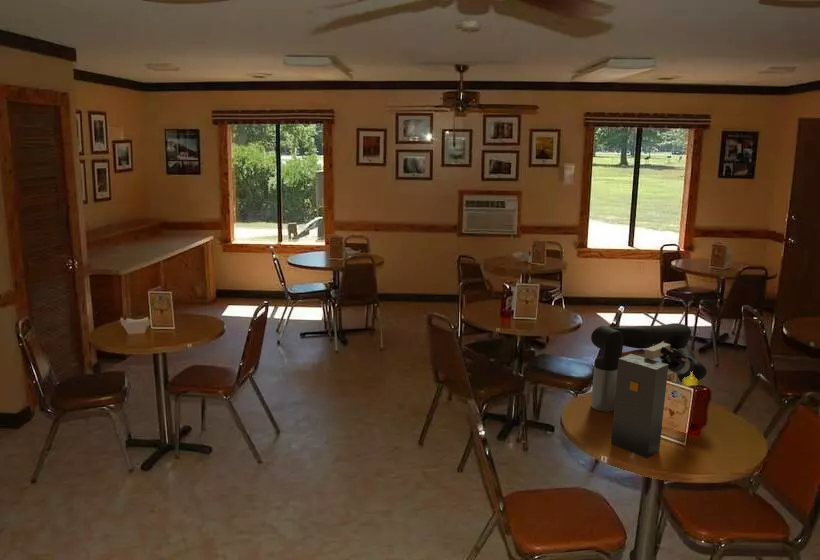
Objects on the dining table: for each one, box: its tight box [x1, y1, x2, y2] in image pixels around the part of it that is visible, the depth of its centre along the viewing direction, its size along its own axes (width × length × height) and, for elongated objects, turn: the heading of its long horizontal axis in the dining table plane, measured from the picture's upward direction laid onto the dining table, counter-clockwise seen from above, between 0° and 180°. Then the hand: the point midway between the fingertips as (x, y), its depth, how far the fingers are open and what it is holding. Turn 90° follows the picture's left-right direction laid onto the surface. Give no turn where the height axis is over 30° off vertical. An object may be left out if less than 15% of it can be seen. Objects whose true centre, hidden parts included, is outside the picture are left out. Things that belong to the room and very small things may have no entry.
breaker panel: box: [610, 354, 669, 459], centre depth 229 cm, size 9×14×32 cm, turn 41°
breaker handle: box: [644, 341, 671, 360], centre depth 232 cm, size 12×3×3 cm, turn 131°
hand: (657, 348), depth 231 cm, fingers closed on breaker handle, 3 cm apart
